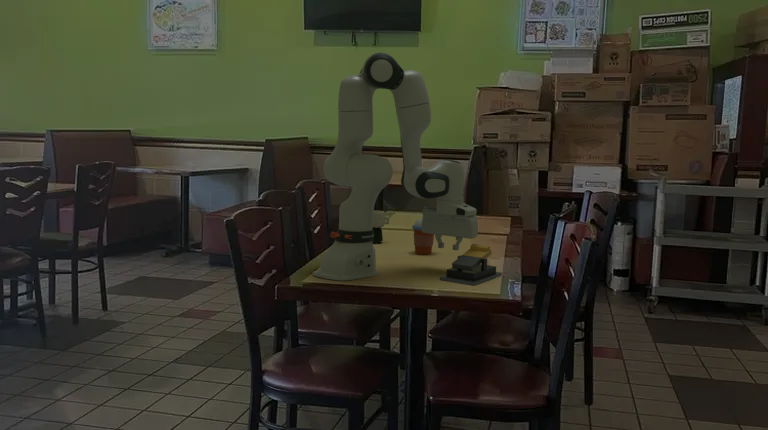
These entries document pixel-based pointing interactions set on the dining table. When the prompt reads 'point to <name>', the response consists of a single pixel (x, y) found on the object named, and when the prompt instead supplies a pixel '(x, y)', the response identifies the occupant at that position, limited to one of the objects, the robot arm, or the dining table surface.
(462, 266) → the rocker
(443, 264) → the dining table surface
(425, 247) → the cup with straw
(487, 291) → the dining table surface
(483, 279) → the grey box with tabs
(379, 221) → the grey trophy cup
